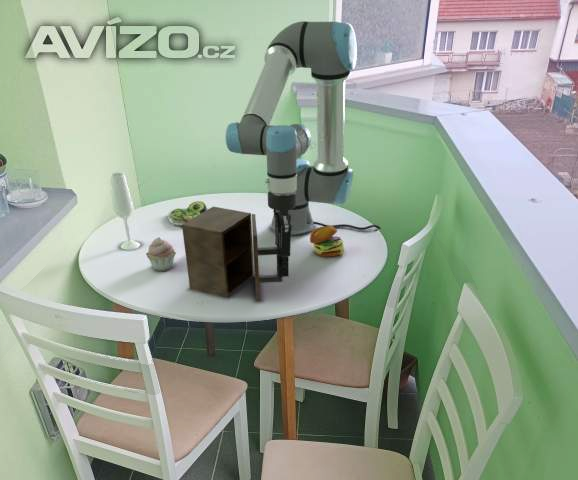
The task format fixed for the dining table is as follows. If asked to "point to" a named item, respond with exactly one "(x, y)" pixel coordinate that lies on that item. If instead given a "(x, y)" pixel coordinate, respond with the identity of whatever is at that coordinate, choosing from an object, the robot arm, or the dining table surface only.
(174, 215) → the plate of green donuts
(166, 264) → the cupcake
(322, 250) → the cheeseburger
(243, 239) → the cupboard
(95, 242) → the dining table surface
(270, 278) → the cupboard door
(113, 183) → the champagne flute
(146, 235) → the dining table surface
